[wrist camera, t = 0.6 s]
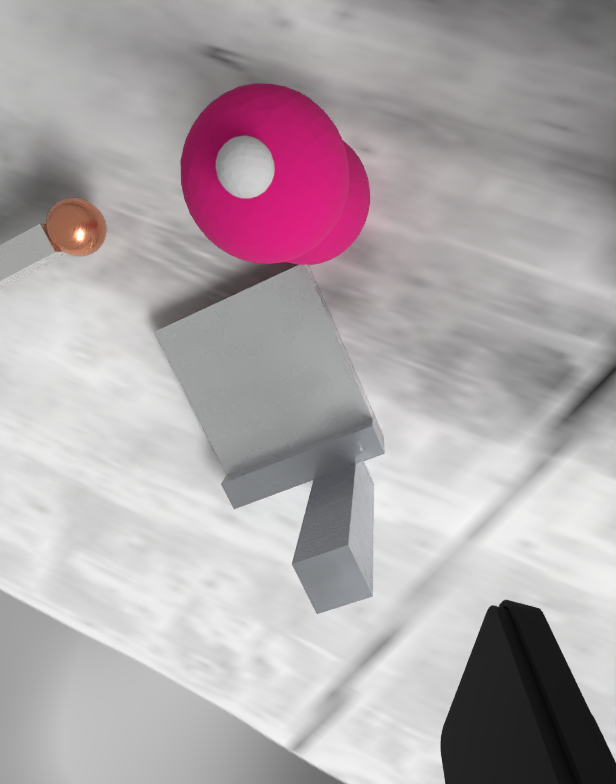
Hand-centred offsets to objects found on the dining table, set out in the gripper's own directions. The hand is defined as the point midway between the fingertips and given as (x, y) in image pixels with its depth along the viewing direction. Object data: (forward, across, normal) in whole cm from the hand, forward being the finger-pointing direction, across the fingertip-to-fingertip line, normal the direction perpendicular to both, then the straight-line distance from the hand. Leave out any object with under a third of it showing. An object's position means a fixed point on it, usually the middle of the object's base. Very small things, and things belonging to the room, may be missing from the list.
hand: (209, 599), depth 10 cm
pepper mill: (+29, +3, -8) cm, 30 cm away
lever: (+28, +21, +1) cm, 35 cm away
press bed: (+29, +10, +6) cm, 32 cm away
